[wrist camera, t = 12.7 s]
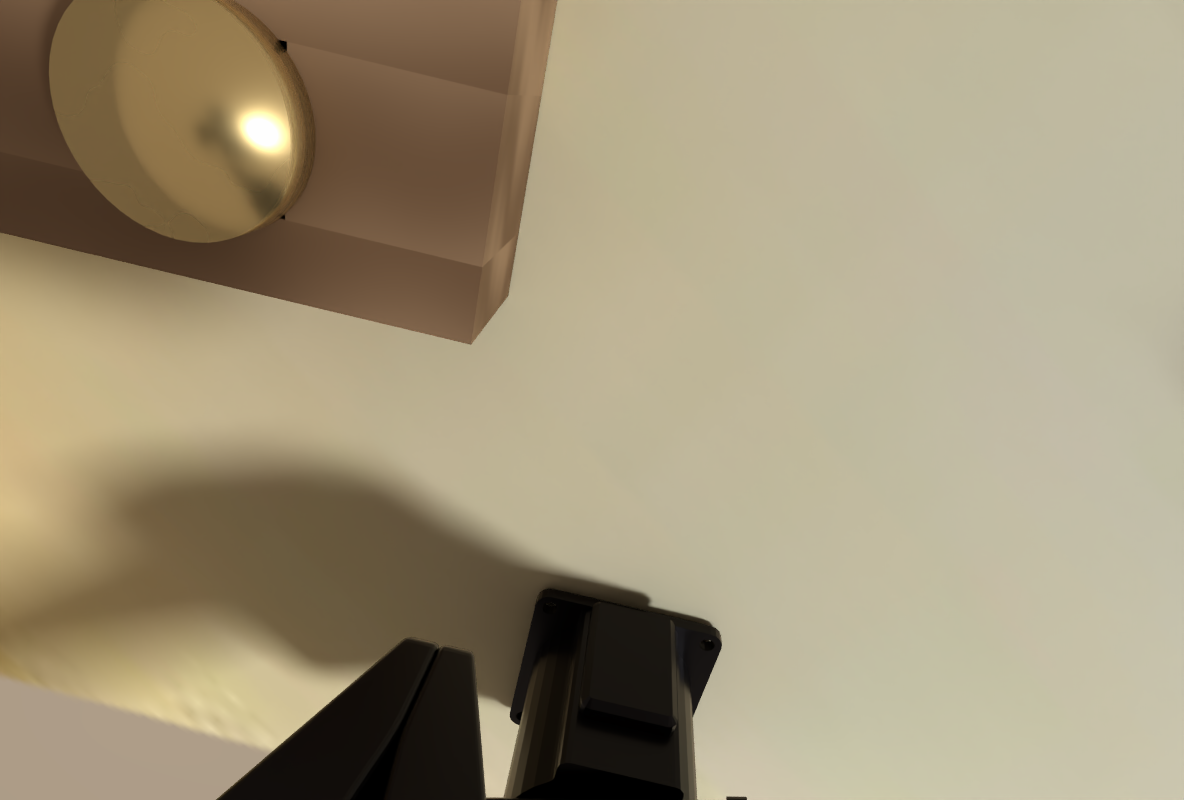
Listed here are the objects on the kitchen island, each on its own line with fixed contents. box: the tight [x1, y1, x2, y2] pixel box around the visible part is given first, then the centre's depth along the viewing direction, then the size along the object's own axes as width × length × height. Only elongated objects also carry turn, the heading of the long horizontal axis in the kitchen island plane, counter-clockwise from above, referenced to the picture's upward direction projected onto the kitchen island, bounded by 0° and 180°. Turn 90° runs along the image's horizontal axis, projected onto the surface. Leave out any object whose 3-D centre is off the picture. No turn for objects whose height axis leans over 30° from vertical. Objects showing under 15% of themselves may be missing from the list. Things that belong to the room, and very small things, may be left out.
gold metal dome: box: [49, 0, 316, 243], centre depth 14 cm, size 5×5×5 cm
